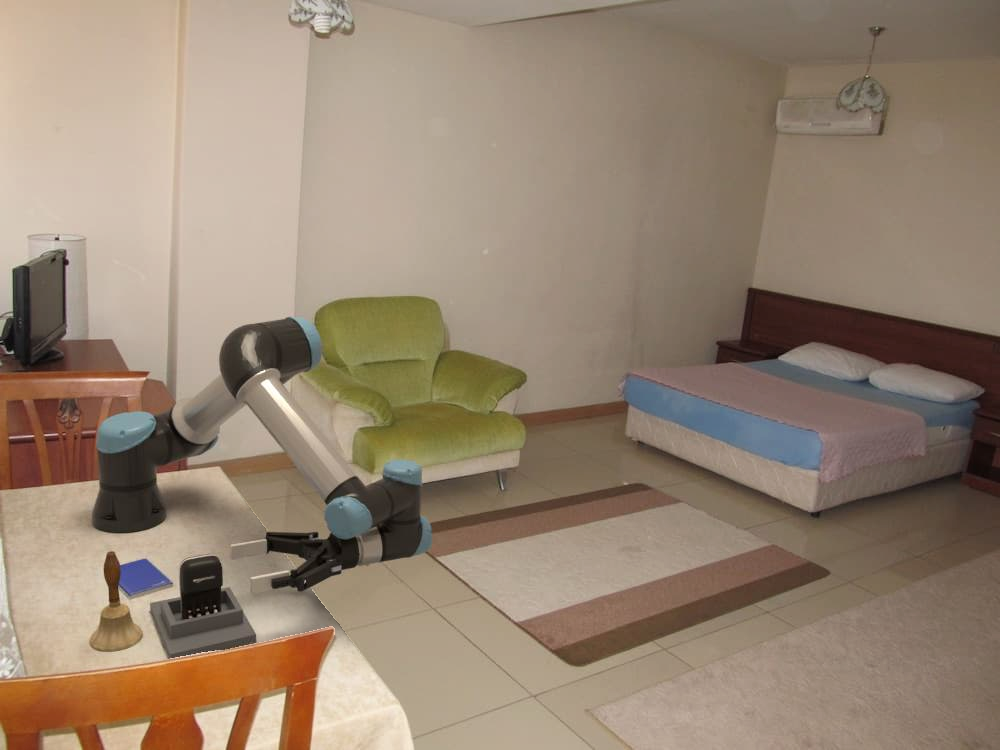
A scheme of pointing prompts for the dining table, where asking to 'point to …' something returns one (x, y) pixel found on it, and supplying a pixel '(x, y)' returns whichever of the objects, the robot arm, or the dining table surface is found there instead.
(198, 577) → the battery charger
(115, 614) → the hand bell
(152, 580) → the hard drive
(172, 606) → the dock
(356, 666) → the dining table surface
